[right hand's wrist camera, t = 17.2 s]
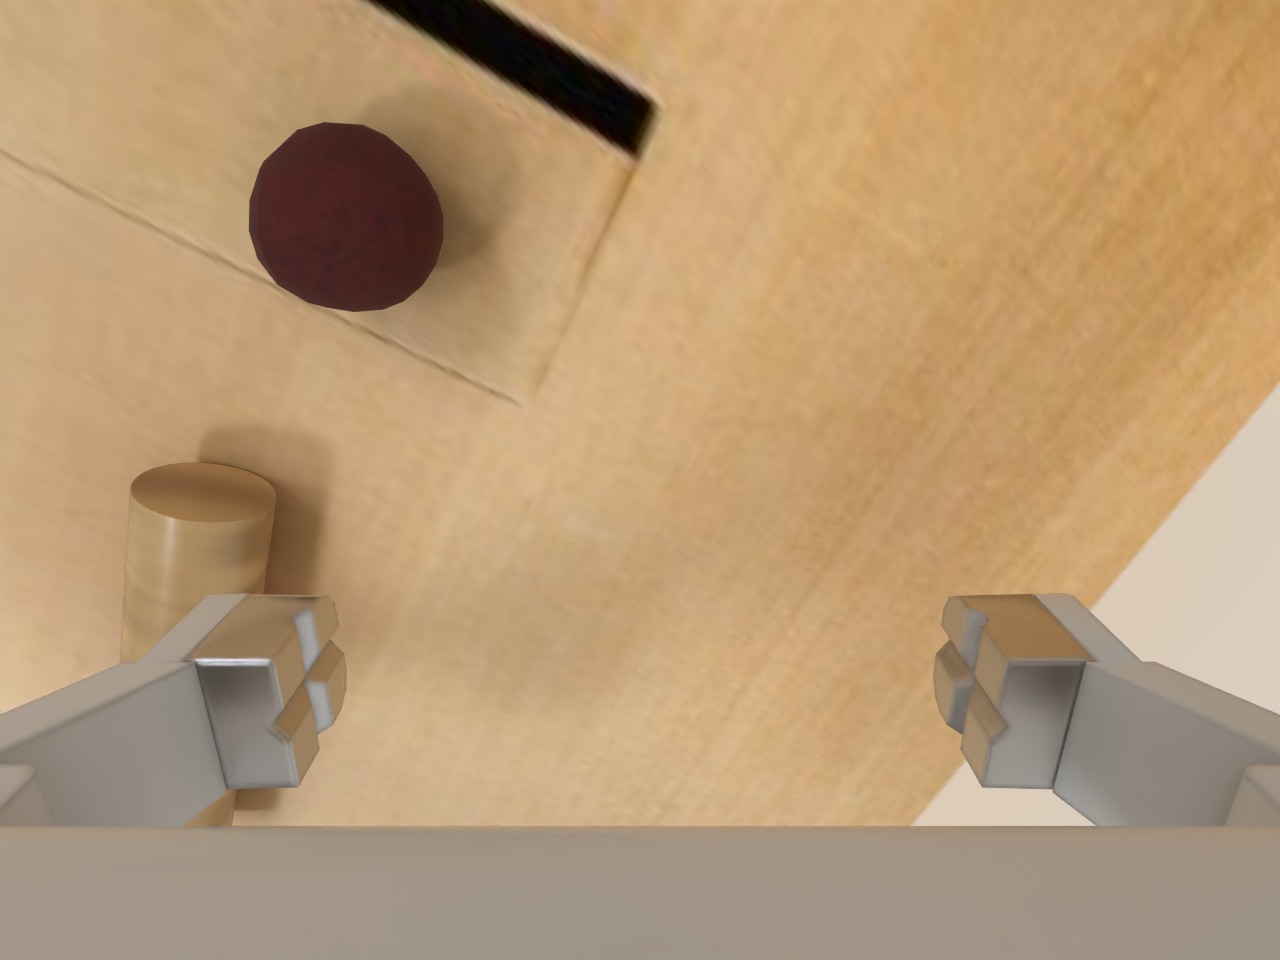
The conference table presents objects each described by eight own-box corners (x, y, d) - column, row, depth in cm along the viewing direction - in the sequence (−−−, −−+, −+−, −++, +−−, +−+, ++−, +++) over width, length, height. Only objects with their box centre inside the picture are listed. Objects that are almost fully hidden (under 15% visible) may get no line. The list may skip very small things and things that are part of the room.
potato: (467, 295, 36) (430, 323, 30) (304, 299, 36) (231, 327, 30) (450, 124, 34) (404, 113, 27) (273, 129, 34) (185, 118, 27)
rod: (177, 451, 39) (99, 498, 34) (297, 483, 40) (240, 535, 34) (149, 794, 48) (82, 878, 42) (248, 816, 49) (196, 902, 43)
